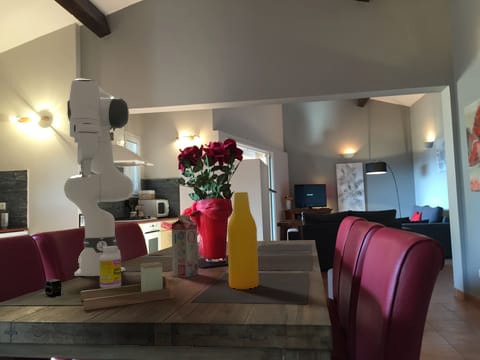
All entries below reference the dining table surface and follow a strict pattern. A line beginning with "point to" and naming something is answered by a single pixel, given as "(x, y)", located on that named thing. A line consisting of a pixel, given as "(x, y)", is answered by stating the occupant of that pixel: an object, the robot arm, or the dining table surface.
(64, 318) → the dining table surface
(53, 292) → the black box
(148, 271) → the cream tall block
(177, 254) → the juice carton
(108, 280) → the supplement bottle
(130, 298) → the bay
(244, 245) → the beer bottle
